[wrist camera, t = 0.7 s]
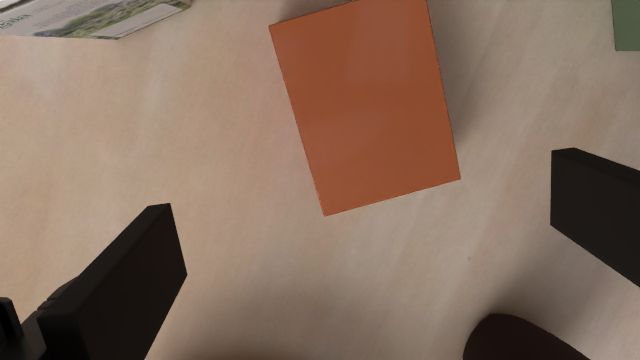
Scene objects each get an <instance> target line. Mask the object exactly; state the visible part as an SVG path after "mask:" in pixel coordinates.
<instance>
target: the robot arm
mask: <svg viewBox="0 0 640 360" xmlns="http://www.w3.org/2000/svg"><path fill="white" fill-rule="evenodd" d="M550 225H551V226H552V227H554V228H555V229H557V230H558V231H560V232H561V233H562V234H564V235H565V236H567V237H568V238H570V239H571V240H572V241H574V242H575V243H577V244H578V245H580V246H581V247H582V248H584V249H585V250H587V251H588V252H590V253H591V254H592V255H594V256H595V257H597V258H598V259H600V260H601V261H602V262H604V263H605V264H607V265H608V266H610V267H611V268H612V269H614V270H615V271H617V272H618V273H620V274H621V275H623V276H624V277H625V278H627V279H628V280H630V281H631V282H633V283H634V284H635V285H637V286H638V287H640V171H639V170H636V169H633V168H630V167H628V166H625V165H622V164H619V163H616V162H614V161H611V160H608V159H605V158H602V157H599V156H597V155H594V154H591V153H588V152H585V151H582V150H580V149H577V148H574V147H573V148H566V149H559V150H552V153H551V212H550ZM186 277H187V271H186V267H185V263H184V259H183V255H182V250H181V246H180V242H179V238H178V234H177V230H176V225H175V221H174V217H173V213H172V209H171V205H170V203H166V204H159V205H151V206H147V207H146V208H145V209H144V210H143V211H142V212H141V213H140V214H139V215H138V216H137V217H136V218H135V219H134V220H133V221H132V222H131V223H130V224H129V225H128V226H127V227H126V228H125V229H124V230H123V231H122V232H121V233H120V234H119V236H118V237H117V238H116V239H115V240H114V241H113V242H112V243H111V244H110V245H109V246H108V247H107V248H106V249H105V250H104V251H103V252H102V253H101V254H100V255H99V256H98V257H97V258H96V259H95V260H94V261H93V262H92V263H91V264H90V265H89V266H88V267H87V268H86V269H85V270H84V271H83V272H82V273H81V274H80V275H79V276H78V277H75V278H74V279H72V280H70V281H69V282H67V283H65V284H64V285H62V286H61V287H59V288H58V289H57V290H56V291H55V292H54V293H52V294H51V295H50V296H49V297H48V298H47V301H44V302H43V303H42V304H41V305H40V306H39V307H38V308H37V311H34V312H33V313H32V314H31V315H30V316H29V317H28V318H27V319H26V320H25V321H24V322H23V323H22V324H20V321H19V319H18V316H17V313H16V311H15V308H14V305H13V303H12V300H10V299H9V298H7V297H0V360H144V359H145V357H146V355H147V353H148V351H149V349H150V348H151V346H152V344H153V342H154V340H155V338H156V336H157V334H158V332H159V330H160V328H161V326H162V324H163V322H164V320H165V318H166V316H167V314H168V312H169V310H170V308H171V306H172V304H173V302H174V300H175V298H176V296H177V295H178V293H179V291H180V289H181V287H182V285H183V283H184V281H185V279H186Z"/></svg>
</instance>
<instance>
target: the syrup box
mask: <svg viewBox="0 0 640 360" xmlns="http://www.w3.org/2000/svg"><path fill="white" fill-rule="evenodd" d="M191 6H192V3H191V1H190V0H0V35H16V36H42V37H65V38H85V39H113V40H114V39H115V40H117V39H120V38H122V37H124V36H126V35H129V34H131V33H133V32H135V31H137V30H140V29H142V28H144V27H146V26H149V25H151V24H153V23H155V22H157V21H160V20H162V19H164V18H166V17H169V16H171V15H173V14H176V13H178V12H180V11H182V10H185V9H187V8H189V7H191Z"/></svg>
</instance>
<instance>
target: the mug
mask: <svg viewBox="0 0 640 360" xmlns="http://www.w3.org/2000/svg"><path fill="white" fill-rule="evenodd" d="M463 360H590V359H589V358H587V357H586V356H584V355H583V354H582V353H580V352H579V351H577V350H576V349H574V348H573V347H571V346H570V345H569V344H567V343H565V342H564V341H562V340H561V339H559V338H558V337H556V336H554V335H553V334H551V333H549V332H547V331H546V330H544V329H542V328H540V327H538V326H537V325H535V324H533V323H531V322H529V321H527V320H525V319H522V318H519V317H516V316H512V315H505V314H490V315H489V316H488V317H486V318H485V319H484V320H483V321H482V322H481V323H480V324H479V325H478V326H477V327H476V328H475V330H474V331H473V332H472V334H471V335H470V337H469V339H468V341H467V343H466V346H465V349H464V353H463Z"/></svg>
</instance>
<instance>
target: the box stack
mask: <svg viewBox="0 0 640 360" xmlns="http://www.w3.org/2000/svg"><path fill="white" fill-rule="evenodd" d="M612 10H613V22H614V34H615V47H616V51H640V0H612Z"/></svg>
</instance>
